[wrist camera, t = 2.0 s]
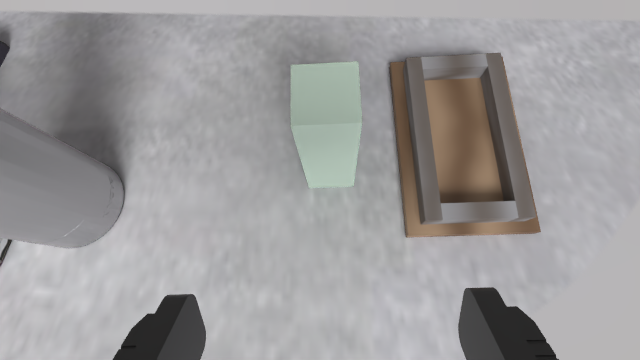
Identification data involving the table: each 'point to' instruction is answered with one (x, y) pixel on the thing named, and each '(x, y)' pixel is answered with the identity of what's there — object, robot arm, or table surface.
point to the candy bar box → (3, 247)
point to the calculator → (3, 52)
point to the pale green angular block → (327, 121)
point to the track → (460, 148)
